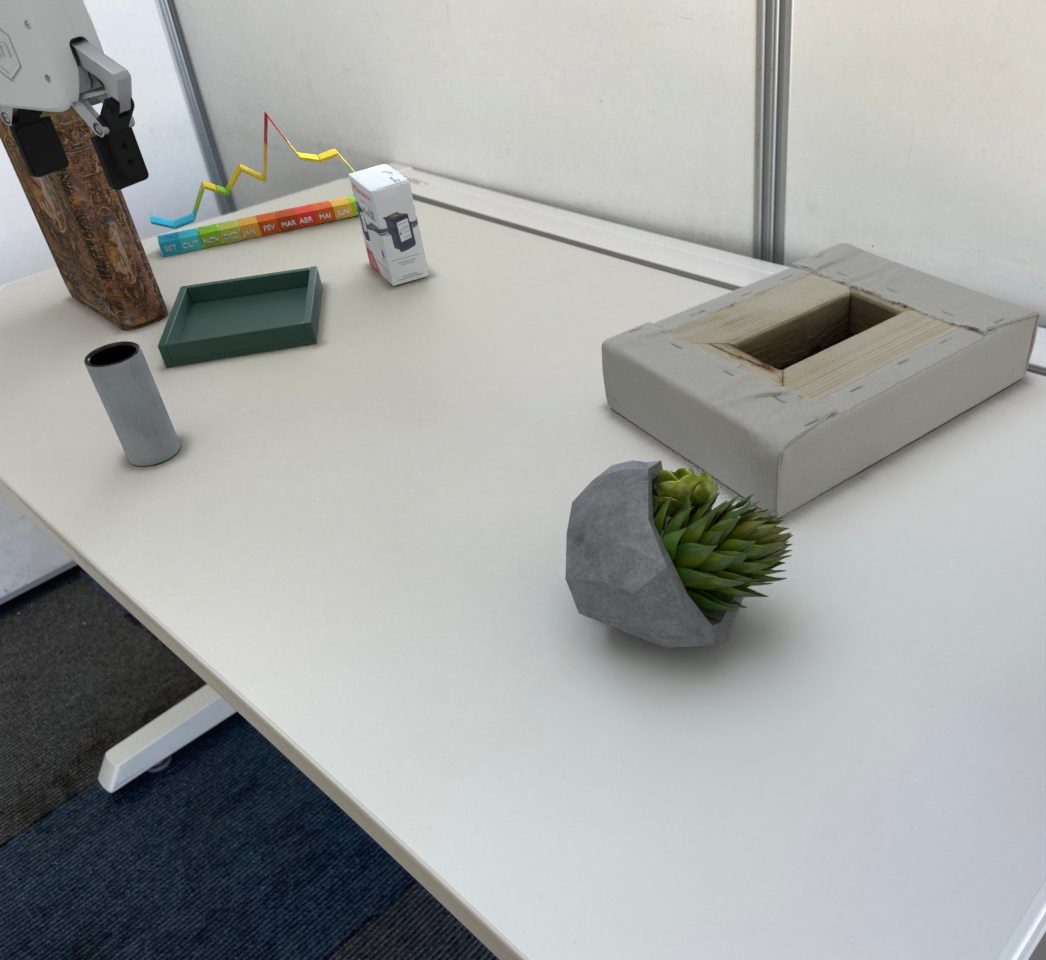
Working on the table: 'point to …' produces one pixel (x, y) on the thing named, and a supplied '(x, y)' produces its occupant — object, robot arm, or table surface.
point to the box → (815, 371)
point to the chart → (253, 224)
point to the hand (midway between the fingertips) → (90, 177)
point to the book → (90, 229)
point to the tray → (242, 317)
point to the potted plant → (667, 554)
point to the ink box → (389, 223)
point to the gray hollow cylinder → (133, 402)
